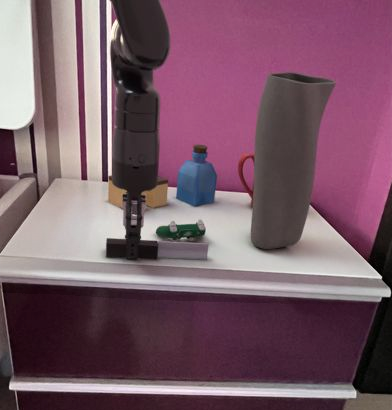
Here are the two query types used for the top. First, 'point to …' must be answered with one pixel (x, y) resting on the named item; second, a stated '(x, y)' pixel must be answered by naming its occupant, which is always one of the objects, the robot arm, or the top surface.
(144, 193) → the cake
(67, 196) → the top surface
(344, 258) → the top surface
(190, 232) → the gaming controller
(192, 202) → the perfume bottle
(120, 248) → the knife
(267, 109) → the vase
